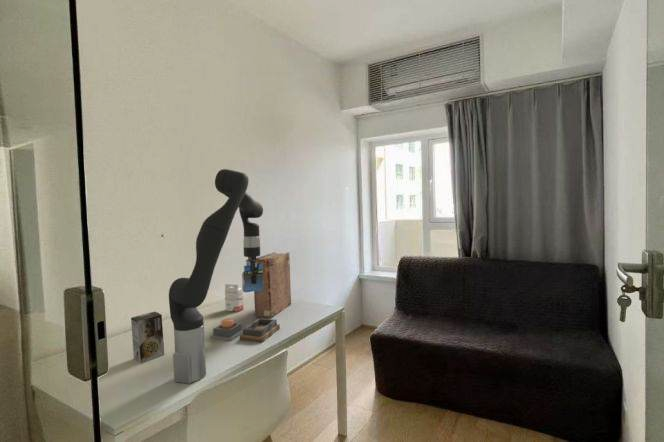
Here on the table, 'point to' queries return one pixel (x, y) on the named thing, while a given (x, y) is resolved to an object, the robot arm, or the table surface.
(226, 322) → the button
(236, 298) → the ink cartridge box
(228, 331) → the button panel
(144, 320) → the coffee box
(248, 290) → the label tape box
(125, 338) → the table surface
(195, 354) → the robot arm
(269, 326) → the tray
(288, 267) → the book
